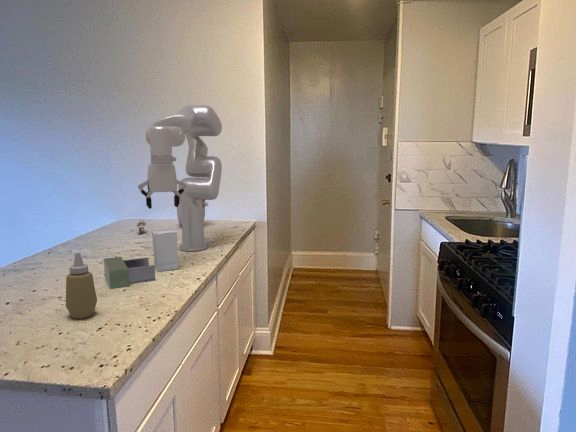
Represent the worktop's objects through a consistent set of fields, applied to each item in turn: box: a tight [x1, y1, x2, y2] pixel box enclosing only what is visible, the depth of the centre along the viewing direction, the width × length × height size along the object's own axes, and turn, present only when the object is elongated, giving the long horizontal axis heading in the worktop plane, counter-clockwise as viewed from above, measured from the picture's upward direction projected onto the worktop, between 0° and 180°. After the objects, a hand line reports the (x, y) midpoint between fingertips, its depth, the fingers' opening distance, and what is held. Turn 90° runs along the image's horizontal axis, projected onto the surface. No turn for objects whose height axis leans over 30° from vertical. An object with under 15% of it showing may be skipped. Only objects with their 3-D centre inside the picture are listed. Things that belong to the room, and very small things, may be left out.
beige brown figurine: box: [136, 220, 147, 236], centre depth 229 cm, size 12×18×7 cm, turn 13°
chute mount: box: [103, 256, 156, 290], centre depth 157 cm, size 15×17×6 cm
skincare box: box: [151, 228, 179, 273], centre depth 168 cm, size 8×6×15 cm
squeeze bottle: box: [65, 252, 98, 320], centre depth 124 cm, size 8×8×18 cm
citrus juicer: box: [176, 196, 209, 228], centre depth 244 cm, size 16×17×20 cm
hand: (163, 207), depth 165 cm, fingers open, 9 cm apart
